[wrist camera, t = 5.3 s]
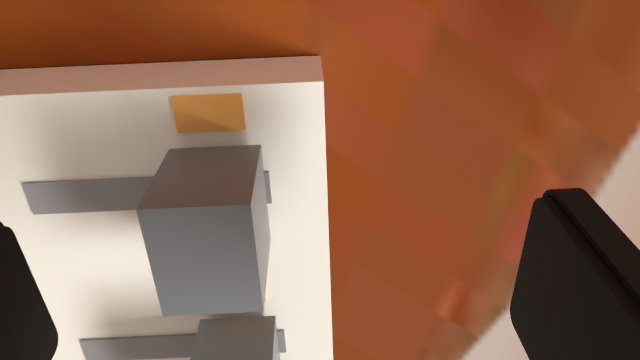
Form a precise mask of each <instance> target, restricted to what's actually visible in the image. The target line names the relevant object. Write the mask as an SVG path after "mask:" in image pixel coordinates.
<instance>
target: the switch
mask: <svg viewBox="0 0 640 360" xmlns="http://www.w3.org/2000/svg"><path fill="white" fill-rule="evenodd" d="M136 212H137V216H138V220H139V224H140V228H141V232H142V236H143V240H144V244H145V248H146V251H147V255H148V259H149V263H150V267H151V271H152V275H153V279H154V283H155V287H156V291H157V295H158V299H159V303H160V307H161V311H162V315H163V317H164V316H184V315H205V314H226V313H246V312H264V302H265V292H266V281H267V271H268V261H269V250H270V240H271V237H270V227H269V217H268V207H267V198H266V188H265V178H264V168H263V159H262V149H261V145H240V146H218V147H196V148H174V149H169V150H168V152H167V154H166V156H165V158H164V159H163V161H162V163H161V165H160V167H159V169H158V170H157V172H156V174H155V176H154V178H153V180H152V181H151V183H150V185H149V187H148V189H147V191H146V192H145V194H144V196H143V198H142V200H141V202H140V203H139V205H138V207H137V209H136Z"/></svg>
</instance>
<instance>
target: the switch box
mask: <svg viewBox="0 0 640 360" xmlns="http://www.w3.org/2000/svg"><path fill="white" fill-rule="evenodd" d="M240 145H261V149H262V159H263V168H264V178H265V188H266V198H267V207H268V217H269V227H270V237H271V240H270V250H269V261H268V271H267V281H266V292H265V302H264V312H246V313H226V314H205V315H184V316H164V317H163V315H162V311H161V307H160V303H159V299H158V295H157V291H156V287H155V283H154V279H153V275H152V271H151V267H150V263H149V259H148V255H147V251H146V248H145V244H144V240H143V236H142V232H141V228H140V224H139V220H138V216H137V212H136V209H137V207H138V205H139V203H140V202H141V200H142V198H143V196H144V194H145V192H146V191H147V189H148V187H149V185H150V183H151V181H152V180H153V178H154V176H155V174H156V172H157V170H158V169H159V167H160V165H161V163H162V161H163V159H164V158H165V156H166V154H167V152H168V150H169V149H174V148H196V147H218V146H240ZM0 222H2V223H3V225H4V226H7V227H10V228H11V229H12V230H13V232H14V234H15V236H16V238H17V241H18V243H19V245H20V247H21V250H22V252H23V254H24V256H25V259H26V261H27V263H28V266H29V268H30V270H31V272H32V275H33V277H34V279H35V281H36V284H37V286H38V288H39V290H40V293H41V295H42V297H43V300H44V302H45V304H46V306H47V309H48V311H49V313H50V315H51V318H52V320H53V322H54V325H55V327H56V329H57V332H58V346H57V349H56V352H55V354H54V356H53V358H52V360H190V358H191V354H192V350H193V346H194V342H195V338H196V334H197V330H198V326H199V322H200V319H216V318H237V317H257V316H276V326H277V335H278V345H279V354H280V360H333V344H332V315H331V286H330V257H329V228H328V199H327V170H326V141H325V112H324V83H323V73H322V64H321V56H297V57H275V58H252V59H230V60H207V61H185V62H162V63H139V64H117V65H94V66H72V67H49V68H27V69H4V70H0Z"/></svg>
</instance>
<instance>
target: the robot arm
mask: <svg viewBox="0 0 640 360" xmlns="http://www.w3.org/2000/svg"><path fill="white" fill-rule="evenodd" d="M510 315H511V320H512V324H513V326H514V328H515V330H516V332H517V335H518V337H519V339H520V341H521V343H522V345H523V347H524V349H525V351H526V353H527V355H528V357H529V360H640V250H639V249H638V248H637V247H636V246H635V245H634V244H633V243H632V241H631V240H630V239H629V238H628V237H627V236H626V235H625V234H624V233H623V232H622V231H621V230H620V228H619V227H618V226H617V225H616V224H615V223H614V222H613V221H612V219H611V218H610V217H609V216H608V215H607V214H606V213H605V212H604V211H603V210H602V208H601V207H600V206H599V205H598V204H597V203H596V202H595V201H594V200H593V199H592V197H591V196H590V195H589V194H588V193H587V192H586V191H585V190H583V189H581V188H570V189H550V190H547V191H546V192H545V193H544V194H543V197H542V198H537V199H536V200H535V201H534V203H533V206H532V211H531V215H530V220H529V224H528V229H527V233H526V237H525V242H524V246H523V251H522V255H521V260H520V264H519V269H518V273H517V278H516V282H515V287H514V291H513V296H512V300H511V305H510ZM57 346H58V332H57V329H56V327H55V325H54V322H53V320H52V318H51V315H50V313H49V311H48V309H47V306H46V304H45V302H44V300H43V297H42V295H41V293H40V290H39V288H38V286H37V284H36V281H35V279H34V277H33V275H32V272H31V270H30V268H29V266H28V263H27V261H26V259H25V256H24V254H23V252H22V250H21V247H20V245H19V243H18V241H17V238H16V236H15V234H14V232H13V230H12V229H11V228H10V227H7V226H4V225H3V223H2V222H0V360H52V358H53V356H54V354H55V352H56V349H57Z"/></svg>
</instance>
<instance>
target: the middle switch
mask: <svg viewBox="0 0 640 360" xmlns="http://www.w3.org/2000/svg"><path fill="white" fill-rule="evenodd" d="M190 360H280V354H279V345H278V335H277V326H276V316H257V317H237V318H216V319H200V322H199V326H198V330H197V334H196V338H195V342H194V346H193V350H192V354H191V358H190Z"/></svg>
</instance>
